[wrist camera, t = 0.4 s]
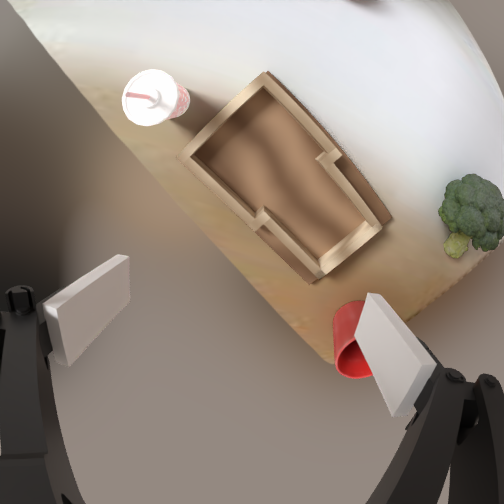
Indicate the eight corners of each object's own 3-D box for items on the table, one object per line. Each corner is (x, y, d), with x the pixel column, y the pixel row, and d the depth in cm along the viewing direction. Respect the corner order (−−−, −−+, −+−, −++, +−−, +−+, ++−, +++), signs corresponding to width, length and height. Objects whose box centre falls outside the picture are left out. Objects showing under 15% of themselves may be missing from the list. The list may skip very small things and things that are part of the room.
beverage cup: (144, 114, 32) (88, 116, 20) (163, 73, 30) (115, 54, 17) (183, 130, 34) (143, 139, 21) (204, 88, 31) (174, 72, 19)
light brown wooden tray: (267, 72, 30) (268, 67, 27) (388, 214, 38) (399, 223, 35) (179, 157, 35) (171, 162, 32) (308, 280, 43) (312, 294, 40)
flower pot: (318, 340, 49) (328, 381, 40) (330, 291, 44) (345, 332, 36) (371, 338, 49) (386, 376, 41) (388, 292, 44) (410, 328, 36)
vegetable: (413, 254, 39) (454, 180, 27) (431, 211, 44) (461, 145, 32) (471, 293, 34) (525, 231, 22) (480, 243, 39) (519, 184, 27)
